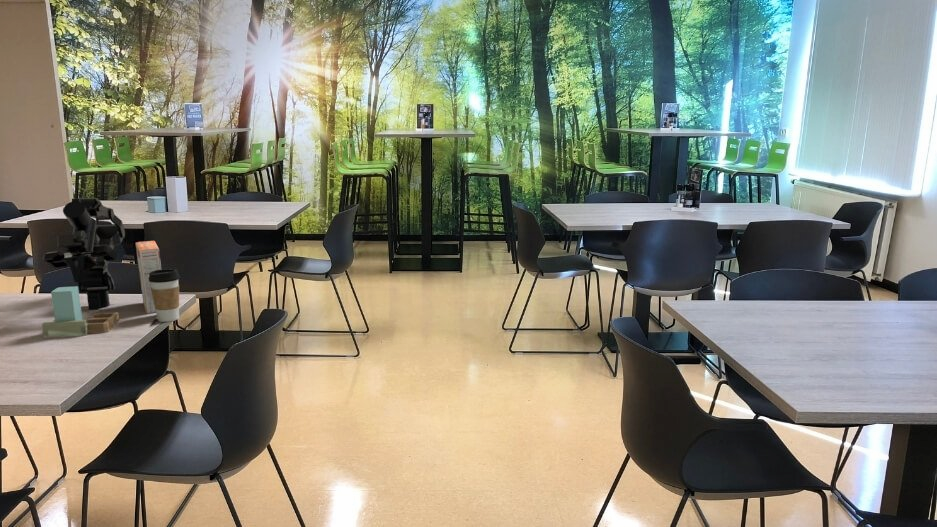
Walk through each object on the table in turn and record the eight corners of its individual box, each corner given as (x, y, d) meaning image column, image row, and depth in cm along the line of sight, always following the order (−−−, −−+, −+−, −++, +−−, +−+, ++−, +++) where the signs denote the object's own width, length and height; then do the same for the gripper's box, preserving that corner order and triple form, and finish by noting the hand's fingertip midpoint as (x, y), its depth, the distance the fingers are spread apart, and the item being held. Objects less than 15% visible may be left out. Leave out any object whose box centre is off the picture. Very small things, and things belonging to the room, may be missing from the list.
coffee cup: (168, 324, 191) (163, 274, 187) (146, 321, 194) (140, 272, 190) (189, 316, 198) (185, 268, 195) (168, 313, 201) (163, 266, 198)
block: (63, 328, 183) (58, 287, 180) (83, 327, 184) (77, 286, 181) (57, 334, 178) (50, 292, 175) (77, 333, 179) (71, 291, 176)
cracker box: (142, 305, 210) (134, 241, 205) (162, 302, 213) (155, 240, 208) (145, 316, 198) (137, 249, 193) (166, 314, 201) (159, 247, 196)
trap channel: (63, 325, 190) (61, 308, 189) (121, 321, 193) (119, 305, 192) (44, 341, 176) (41, 323, 175) (106, 337, 180) (104, 320, 178)
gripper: (35, 226, 187) (25, 275, 180) (99, 217, 187) (92, 266, 180) (59, 244, 197) (51, 291, 191) (120, 235, 197) (114, 282, 190)
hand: (76, 282), depth 188 cm, fingers closed
